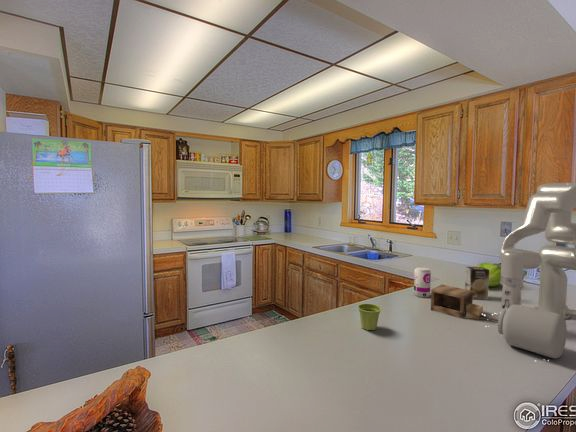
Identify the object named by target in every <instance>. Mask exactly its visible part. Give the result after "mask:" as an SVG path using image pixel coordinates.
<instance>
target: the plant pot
mask: <svg viewBox="0 0 576 432" xmlns="http://www.w3.org/2000/svg"><path fill="white" fill-rule="evenodd" d="M357 308H358V312H359V316H360V325H361V328H362V329H363V330H365V329H366V330H365V331H368V330H373V331H376V330H377V329H378V328H377V327H378V323H379V317H380V316H379V315H380V314H381V311H382V308H381V306H379V305H377V304H374V303H367V302H366V303H360V304H359V305H357Z"/></svg>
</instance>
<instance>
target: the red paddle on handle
mask: <svg viewBox="0 0 576 432" xmlns="http://www.w3.org/2000/svg"><path fill="white" fill-rule="evenodd" d="M483 310H484V309H483V305H480V304H476V303H472V304H471V303H470V304H469V305H467V308H466V311H465V313H466V314H465V315H466V318H469V319H473V320H474V319H475V320H477V321H480V319H485V320H487V319H488V321H489V320H490V321H492V322H493V321H494V322H497V323H498V319H497V318H493V317H489V316H484V315H482V314H484V313H483Z"/></svg>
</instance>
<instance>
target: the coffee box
mask: <svg viewBox="0 0 576 432" xmlns="http://www.w3.org/2000/svg"><path fill="white" fill-rule="evenodd" d="M464 278H465V281H464V289H466V290H471V291H473V300H484V301H485V300H486V301H487V300H488V298H489V287H488V284H489V270H488V269H486V268H483V267H476V266H465V277H464Z"/></svg>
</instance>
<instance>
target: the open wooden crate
mask: <svg viewBox="0 0 576 432" xmlns="http://www.w3.org/2000/svg"><path fill="white" fill-rule="evenodd" d="M430 298H431V299H430V311H434V312H437V313H441V314H445V315H448V316H451V317H456V318H459V319H464V318H465V312H466V308H467V305H469V304H470V303H471V304H473V300H474V299H473V291H471V290H466V289H465V288H460V287H455V286H450V285H446V284H440V285H438V286H436V287H434V288H430ZM444 306H445V307H444Z"/></svg>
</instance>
